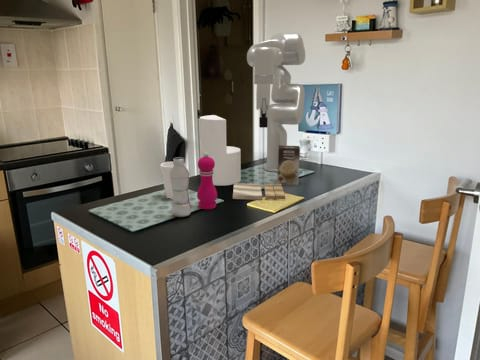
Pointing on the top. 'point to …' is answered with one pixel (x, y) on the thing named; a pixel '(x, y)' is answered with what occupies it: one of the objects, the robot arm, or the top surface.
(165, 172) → the foam cup
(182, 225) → the top surface
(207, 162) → the pepper mill
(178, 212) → the plastic bottle
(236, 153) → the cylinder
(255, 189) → the birch plank
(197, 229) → the top surface
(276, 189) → the oak floorboards
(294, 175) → the coffee box
